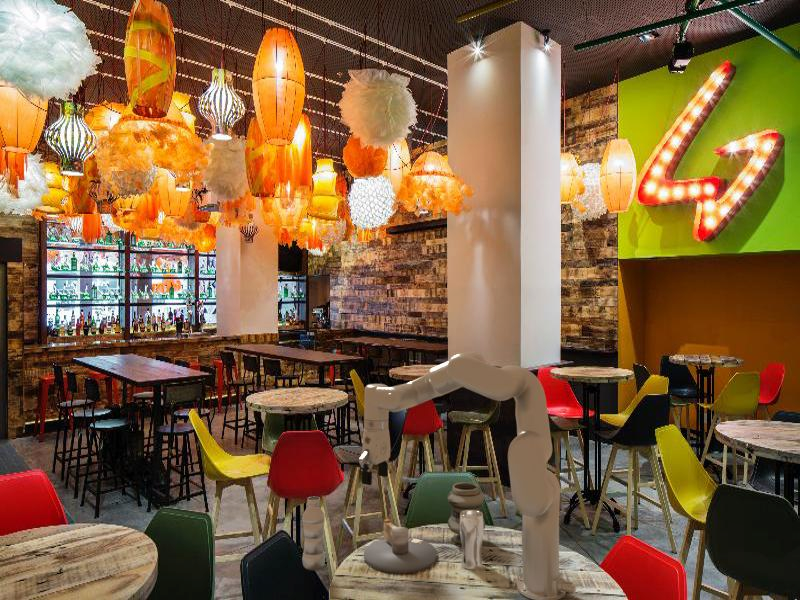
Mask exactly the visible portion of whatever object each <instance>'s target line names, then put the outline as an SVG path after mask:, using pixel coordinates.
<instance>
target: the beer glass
mask: <svg viewBox="0 0 800 600" xmlns="http://www.w3.org/2000/svg"><path fill="white" fill-rule="evenodd" d="M483 520H484V514H483V512H482V511H481V512H480V511H477V510H464V511H462V512H461V513H460V537H461V543H462V547H461V549H462V559H461V567H464V568H463V569H465V568H466V569H465V570H471V571H476V570H480V569H482V568H483V560H482V547H483V540H484V531H485V528H484V525H483Z"/></svg>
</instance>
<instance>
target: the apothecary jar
mask: <svg viewBox="0 0 800 600" xmlns="http://www.w3.org/2000/svg"><path fill="white" fill-rule="evenodd" d="M447 501H448V503H449V504H450V505H451V508H450V509H451V511H450V512H451V515H450V517H449V519H448V520H447V526H448V528H449V530H450V531H451V532H452V533H454V534H456V535H454V536H453V537H451V539H450V541H451V543H452V545H454V546H458V547H460V548H462V543H461V537H460V513H461V512H462V511H464V510H477V511H480V512H482V508H481V506H482V505H483V504H484V503H485V496H484V494H483V493H482V492H481V490H480V487H479V484H477V483H474V482H468V481H467V482H465V481H463V482H456V483H454V484H453V485H452V488H451V491H450V492H449V493H448V494H447ZM483 525H484V529H485V528H486V522H485V520H484V519H483Z"/></svg>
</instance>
